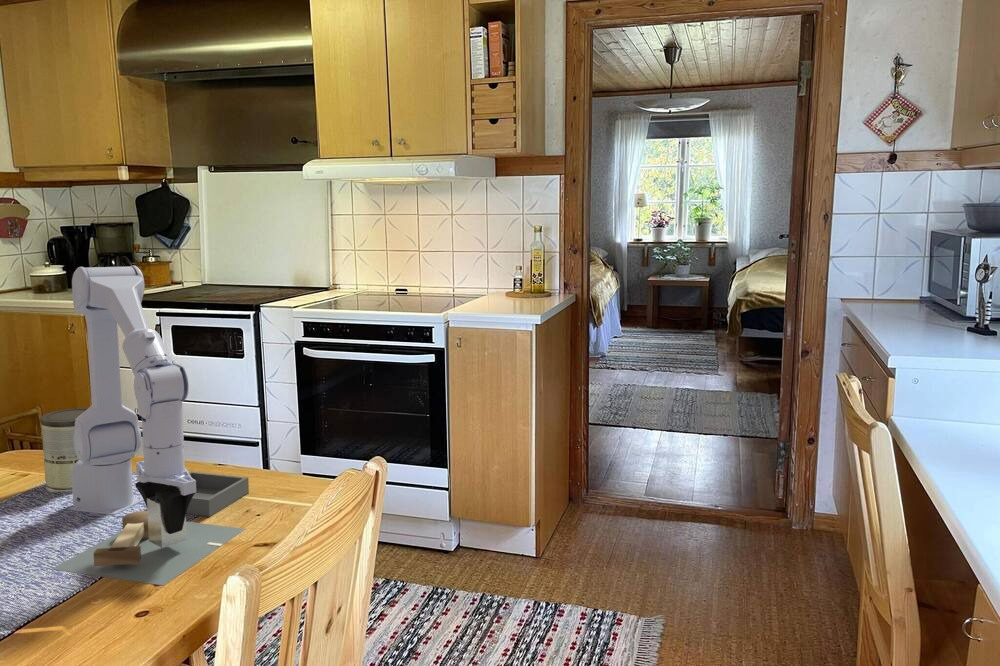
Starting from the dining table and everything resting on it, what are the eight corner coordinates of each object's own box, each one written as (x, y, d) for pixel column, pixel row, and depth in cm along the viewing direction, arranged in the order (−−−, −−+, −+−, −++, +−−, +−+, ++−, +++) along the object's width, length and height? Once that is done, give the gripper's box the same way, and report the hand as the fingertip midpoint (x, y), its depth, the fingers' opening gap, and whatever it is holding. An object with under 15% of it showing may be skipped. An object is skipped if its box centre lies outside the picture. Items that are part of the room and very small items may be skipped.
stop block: (148, 541, 119) (146, 498, 118) (173, 533, 122) (171, 491, 121) (162, 548, 117) (160, 504, 116) (186, 540, 120) (184, 497, 119)
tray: (148, 511, 136) (147, 492, 136) (191, 488, 148) (190, 471, 147) (209, 519, 133) (209, 500, 133) (248, 495, 145) (248, 477, 145)
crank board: (51, 571, 113) (51, 568, 113) (148, 518, 133) (148, 516, 133) (163, 588, 108) (163, 584, 108) (245, 531, 128) (245, 528, 128)
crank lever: (124, 529, 127) (123, 511, 126) (163, 527, 128) (162, 509, 128) (94, 571, 112) (93, 552, 111) (138, 568, 113) (137, 549, 112)
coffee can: (40, 482, 150) (36, 412, 148) (99, 472, 156) (95, 405, 154) (49, 497, 142) (44, 423, 140) (110, 486, 148) (106, 416, 146)
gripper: (114, 439, 118) (119, 523, 120) (162, 459, 110) (166, 549, 112) (158, 430, 124) (162, 510, 126) (207, 448, 115) (210, 534, 117)
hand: (167, 527), depth 119 cm, fingers closed on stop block, 4 cm apart
